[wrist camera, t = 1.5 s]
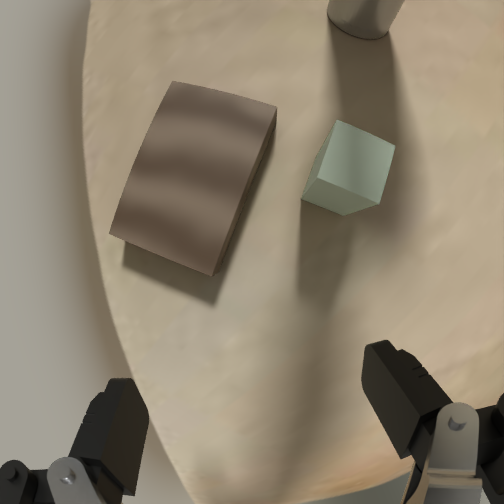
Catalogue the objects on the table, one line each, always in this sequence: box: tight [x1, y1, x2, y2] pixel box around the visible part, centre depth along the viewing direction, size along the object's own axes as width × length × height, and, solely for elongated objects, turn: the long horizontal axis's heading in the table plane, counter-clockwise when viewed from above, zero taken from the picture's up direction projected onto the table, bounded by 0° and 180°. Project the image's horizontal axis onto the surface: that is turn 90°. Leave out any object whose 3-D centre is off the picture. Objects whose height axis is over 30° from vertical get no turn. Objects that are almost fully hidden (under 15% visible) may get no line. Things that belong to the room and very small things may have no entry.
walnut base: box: [109, 81, 277, 277], centre depth 30 cm, size 18×12×4 cm, turn 159°
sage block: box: [301, 120, 395, 216], centre depth 25 cm, size 5×5×11 cm
